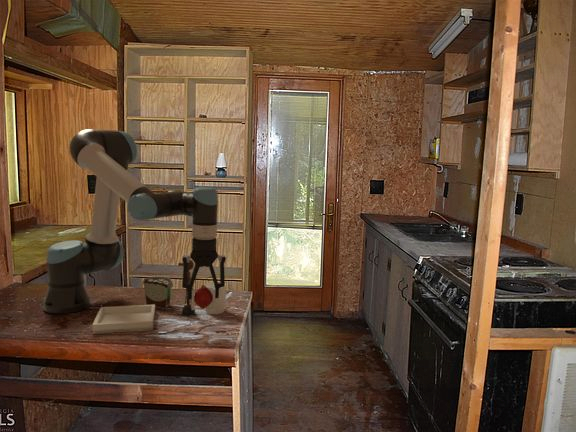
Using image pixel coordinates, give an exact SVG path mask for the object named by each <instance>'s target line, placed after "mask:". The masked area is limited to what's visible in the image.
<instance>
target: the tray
mask: <svg viewBox="0 0 576 432" xmlns="http://www.w3.org/2000/svg"><path fill="white" fill-rule="evenodd" d="M155 316H156V307H155V304H154V305H146V304H140V305H139V304H138V305H137V304H136V305H135V304H134V305H119V306H100V308H99V311H98V312H97V314H96V317H95V318H94V320H93V323H92V324H91V325H92V334H93V335H98V334H99V335H100V334H111V333H112V334H114V332H115V334H116V332H117V333H128V332H133V333H134V332H143V331H144V332H145V331H147V332H148V331H154V326H155V325H154V324H155Z"/></svg>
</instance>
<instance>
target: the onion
mask: <svg viewBox="0 0 576 432" xmlns="http://www.w3.org/2000/svg"><path fill="white" fill-rule="evenodd" d="M211 302H212V293H211V291H210V290H209V289H208V288H206V287H205V285H204V284H202V285H201V286H200V288H198V289H197V290H195V292H194V304H195V305H196V306H198V307H200V309H201V310H206V307H207V306H209V305H210V304H211Z"/></svg>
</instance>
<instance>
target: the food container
mask: <svg viewBox="0 0 576 432" xmlns="http://www.w3.org/2000/svg"><path fill="white" fill-rule="evenodd" d="M142 284H144V285H143V287H144V296H145V305H154V304H155V308H156V309H162V310H168V309H169V308H170V306H171V293H172V289H173V287H174V282H173V281H172V279H171V278H170V277H166V276H150V277H145V278H143V280H142Z"/></svg>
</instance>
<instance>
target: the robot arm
mask: <svg viewBox="0 0 576 432" xmlns="http://www.w3.org/2000/svg"><path fill="white" fill-rule="evenodd" d="M69 154H70V156H71V158H72V160H73V161H74V162H75V163H76V165H78V166H79V167H80V168H81V169H83V170H85V171H89V172H91V174H93V175H94V176H95V177H96V181H95V190H94V197H93V208H92V217H91V226H90V232H88V233H87V234H86V235H85V237H84V238H85V240H84V242H82V241H81V240H78V239H75V240H65V241H61V242H60V241H59V242H56V243H54V244H52V245H50V246H49V247H48V249H47V250H46V266H47V268H46V271H47V282H48V287H47V291H46V295H45V297H44V301H43V311H45V312H46V313H49V314H57V315H59V314H60V315H61V314H63V315H64V314H72V313H76V312H79V311H80V312H81V311H83V310H85V309H87V308H89V307H90V306H91V297H90V295H89V292H88V290H87V287H86V285H85V276H86V275H90V274H94V273H95V274H96V273H99V272H103V271H104V272H105V271H109V270H111V269H114V268H117V267H118V266H119V265H120V264H121V263H122V260H123V259H124V252H125V251H124V248H123V244H122V242H121V240H119V237H118V235H117V234H116V228H117V220H118V214H119V213H118V212H119V205H120V199H122V200H123V201H124V202H125V203H126V204H127V211H128V212H129V214H130V216H131V218H132V219H133V220H135V221H142V220H143V221H149V220H153V219H155V220H156V219H161V218H166V217H174V216H187V217H191V218H192V227H191V228H192V230H191V233H192V239H191V252H190V254H189V255H182V257H181V261H182V263H183V264H184V267H183V266H182V268H183V269H182V280H181V281H182V283H181V285H182V286H181V287H182V288H183V289H186V288H187V289H188V299H191V301H190V305H191V308H192V310H194V309H195V301H194V295H195V287H194V284H195V281H196V278H197V275H198V272H199V270H200V268H203V267H206V268H209V271H210V274H211V279H212V282H214V285H215V287H212V309H215V298H218V297H219V288H220V287H224V286H225V283H226V282H225V281H226V279H225V277H226V276H225V262H226V260H227V257H226V256H225V254H218V252H217V246H218V245H217V243H218V239H217V235H218V209H219V208H218V206H219V201H218V196H219V195H218V190H217V189H216V188H215V187H205V186H201V187H199V186H198V187H195V188H193V190H192V192H190V191H183V190H179V189H178V190H173V189H171V190H168V191H167V192H154V191H153V190H151V189H150V188H149V187H148V186H146V185H145V184H143V182H141V181H140V180H139V179H138V178H136V176H134V175H133V174H132V173H130V171H129V165H130V164H132V163H134V162H135V160H136V159H137V155H138V149H137V144H136V141H134V138H133V136H132V135H131V134H130V133H128V132H126V131H120V130H116V129H115V130H114V129H111V130H109V129H94V128H93V129H92V128H89V129H88V128H87V129H82V130H80V131H78V132H77V133H75V134H74V136H73V137H72V138H71V140H70V143H69ZM190 260H192V261H193V263H194V267H193V268H192V269H193V270H192V272H191V274H190V281H189V284H187V270H188V263H189V262H190ZM216 260H218V263H219V281H218V278H217V276H216V272H215V269H214V268H215V267H214V265H213V264H214V263H215V261H216ZM218 282H220V283H218Z"/></svg>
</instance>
